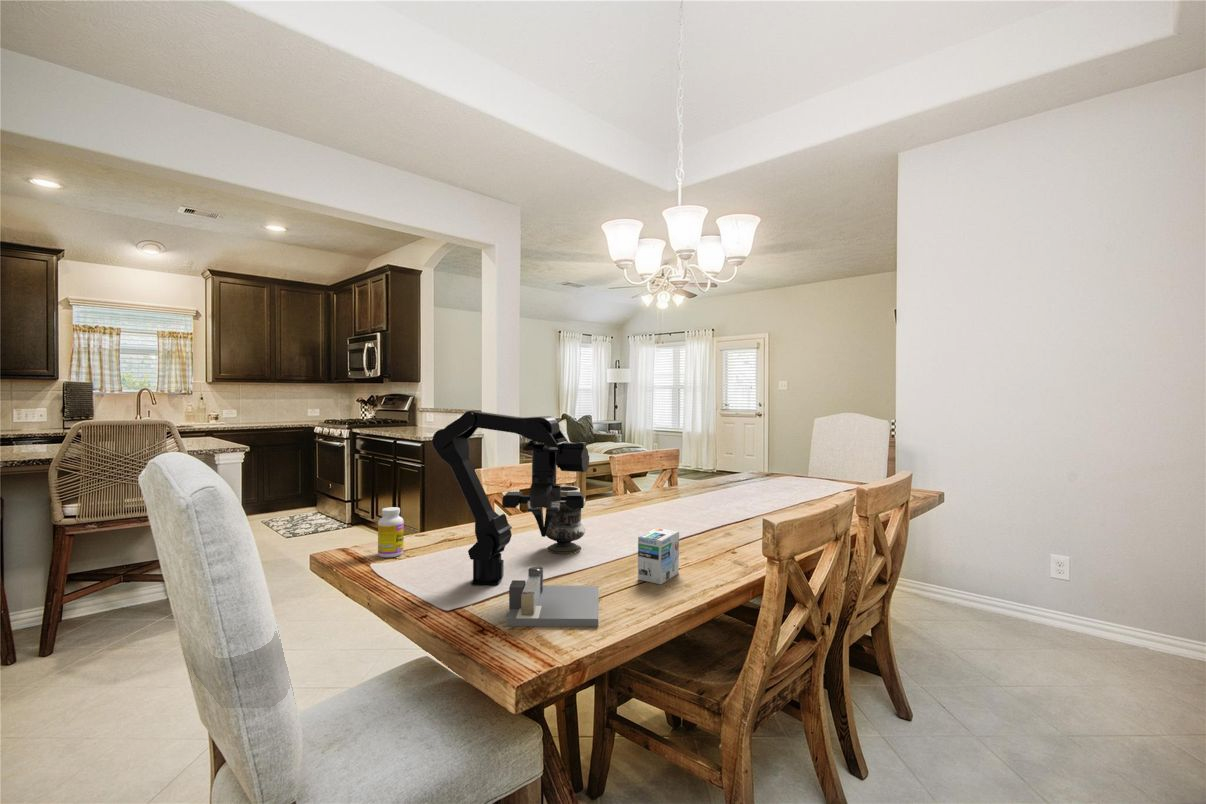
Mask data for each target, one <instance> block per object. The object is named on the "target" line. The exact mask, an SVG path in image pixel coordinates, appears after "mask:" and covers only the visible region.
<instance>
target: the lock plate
mask: <svg viewBox="0 0 1206 804" xmlns="http://www.w3.org/2000/svg"><path fill="white" fill-rule="evenodd" d="M526 582H527V580H525V579H524V580H522V579H521V580H517V579H513V580H512V581H511V582H510V585H509V587H508V588H509V589H508V590H509V591H508V594H509V595H508V601H509V603H508V609H509V612H508V615H507V617H506V626H507V627H599V610H600V609H599V606H600V605H599V604H600V603H599V602H600V600H599V598H600V597H599V596H600V595H599V588H600V587H599V586H600V585H564V584H563V585H558V584H557V585H556V584H555V585H550V584H549V585H548V584H546V585H544V584H543V591H542V592H540V595H539V599H538V602H537V605H536V608H535V611H534V614H533V615H521V594H522V592H523V589H524V587H525V584H526Z"/></svg>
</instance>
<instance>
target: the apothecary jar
mask: <svg viewBox="0 0 1206 804" xmlns="http://www.w3.org/2000/svg"><path fill="white" fill-rule="evenodd" d="M560 486H561V496H567V493H568V492H581V488H579V487H578V486H574V485H560ZM585 505H586V498H585V497H584V506H585ZM585 534H586V528H585V526H584V525H583V523H582V508H569V507H568V506H567V505H566V504H560V509H559V511H558V512H554V514H553V516H552V518H551V520H550V523H549V527H548V530H547V533H546V536H545V537H547V538H548V539H550V540H552V541H555V543H553V544H550V545H549V546H548V547H547V548H546V550H547V551H548V552H550V553H551V554H555V553H557V554H556V555H571V554H570V553H573V554H576V553H575V552H577V553H579V552H580V551H581V549H582V547H581V546H580V545H578V544H576V543H575V542H574V541H577V540H579V539H581V538H583V536H584V535H585ZM578 551H579V552H578Z"/></svg>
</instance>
